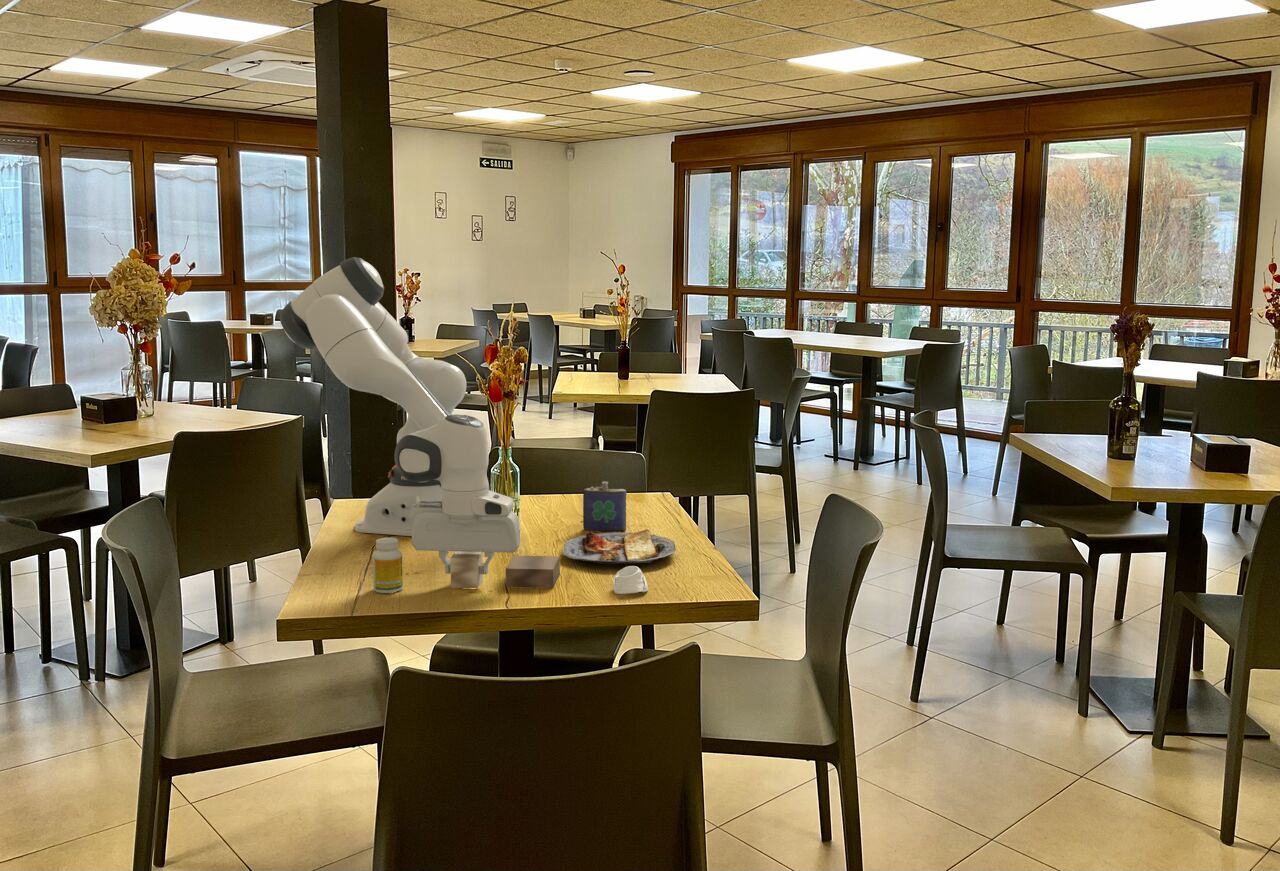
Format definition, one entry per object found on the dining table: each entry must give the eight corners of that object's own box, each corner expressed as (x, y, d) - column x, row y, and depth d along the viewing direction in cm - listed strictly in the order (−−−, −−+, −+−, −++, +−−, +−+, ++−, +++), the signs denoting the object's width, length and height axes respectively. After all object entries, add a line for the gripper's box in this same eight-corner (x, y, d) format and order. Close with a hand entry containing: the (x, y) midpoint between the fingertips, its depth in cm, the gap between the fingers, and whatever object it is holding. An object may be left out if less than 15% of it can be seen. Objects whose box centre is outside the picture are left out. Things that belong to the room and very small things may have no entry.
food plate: (567, 540, 236) (567, 525, 235) (672, 540, 236) (672, 525, 236) (560, 572, 211) (560, 555, 211) (677, 572, 212) (677, 555, 211)
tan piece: (451, 588, 199) (450, 557, 198) (457, 581, 204) (456, 550, 203) (477, 589, 199) (476, 558, 198) (482, 581, 204) (482, 551, 203)
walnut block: (506, 588, 201) (505, 568, 200) (514, 575, 210) (514, 555, 209) (553, 590, 200) (553, 569, 200) (559, 576, 209) (559, 556, 208)
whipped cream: (651, 601, 196) (654, 576, 195) (615, 600, 195) (618, 575, 194) (643, 585, 204) (646, 561, 203) (608, 584, 202) (611, 560, 201)
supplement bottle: (369, 588, 199) (368, 538, 198) (397, 584, 202) (395, 534, 201) (379, 595, 195) (377, 545, 193) (407, 591, 198) (405, 541, 196)
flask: (626, 529, 245) (626, 480, 243) (625, 532, 242) (625, 483, 240) (583, 528, 245) (583, 479, 244) (582, 532, 242) (582, 482, 240)
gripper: (406, 504, 197) (408, 576, 199) (515, 506, 195) (516, 579, 198) (415, 497, 203) (417, 567, 205) (521, 499, 202) (522, 569, 204)
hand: (466, 573), depth 201 cm, fingers closed on tan piece, 5 cm apart
